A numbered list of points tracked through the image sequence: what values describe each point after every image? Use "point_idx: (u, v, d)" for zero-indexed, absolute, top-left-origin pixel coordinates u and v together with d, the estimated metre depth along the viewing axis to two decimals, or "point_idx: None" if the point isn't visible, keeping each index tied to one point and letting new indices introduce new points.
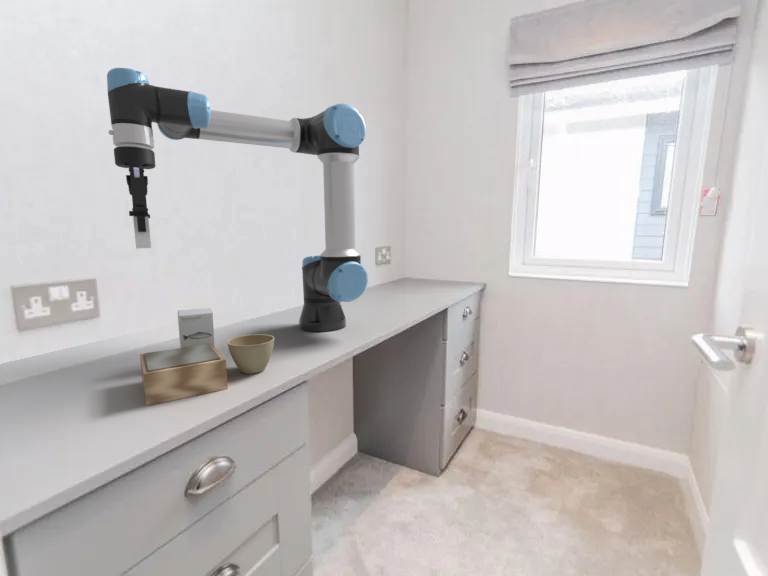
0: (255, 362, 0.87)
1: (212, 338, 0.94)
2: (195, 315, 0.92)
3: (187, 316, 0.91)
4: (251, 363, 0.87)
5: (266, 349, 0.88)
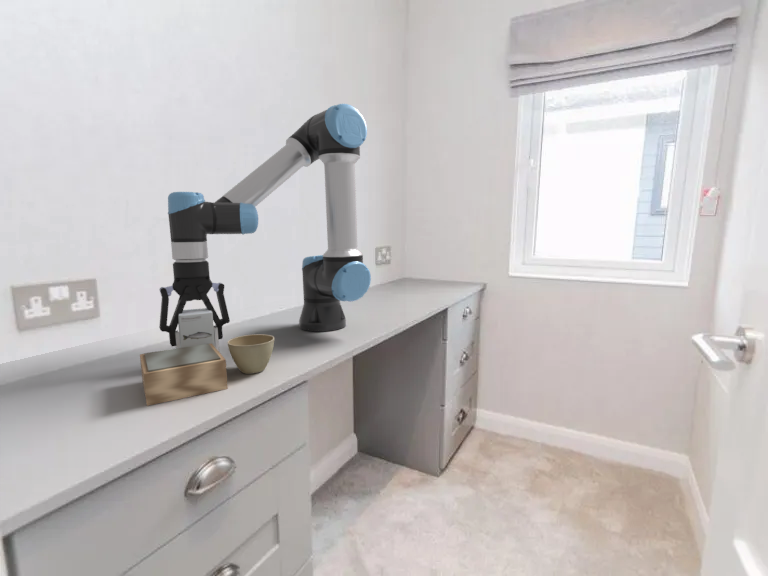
0: (255, 362, 0.87)
1: (212, 338, 0.94)
2: (195, 315, 0.92)
3: (187, 316, 0.91)
4: (251, 363, 0.87)
5: (266, 349, 0.88)
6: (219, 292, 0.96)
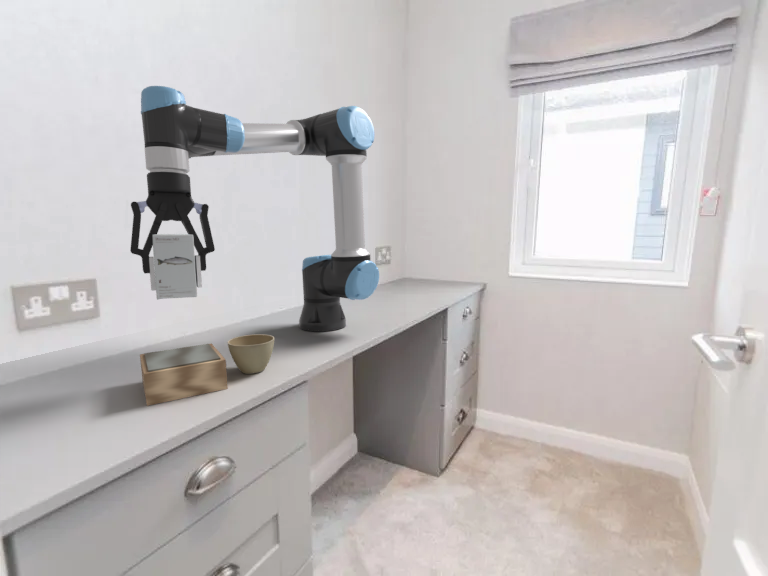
0: (255, 362, 0.87)
1: (192, 265, 0.80)
2: (172, 236, 0.78)
3: (162, 236, 0.77)
4: (251, 363, 0.87)
5: (266, 349, 0.88)
6: (202, 214, 0.82)
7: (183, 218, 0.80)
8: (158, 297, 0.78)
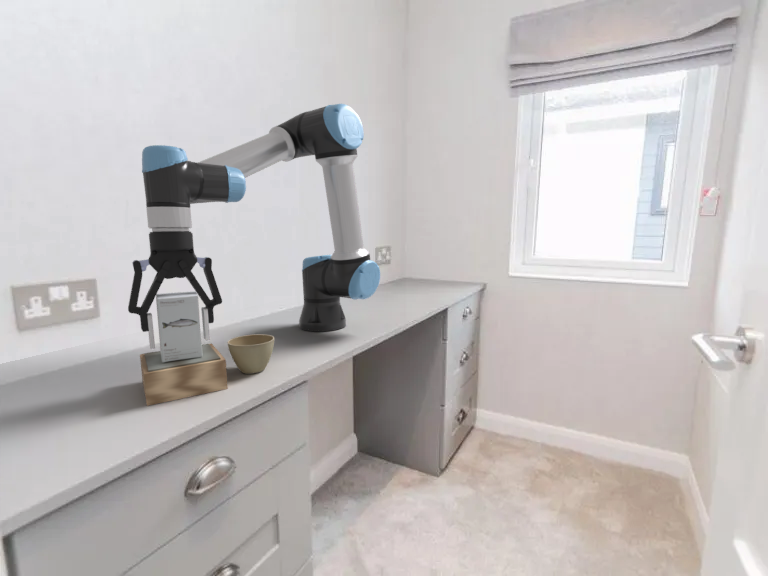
0: (255, 362, 0.87)
1: (198, 326, 0.79)
2: (177, 298, 0.77)
3: (167, 299, 0.76)
4: (251, 363, 0.87)
5: (266, 349, 0.88)
6: (206, 268, 0.81)
7: (187, 275, 0.79)
8: (163, 360, 0.77)
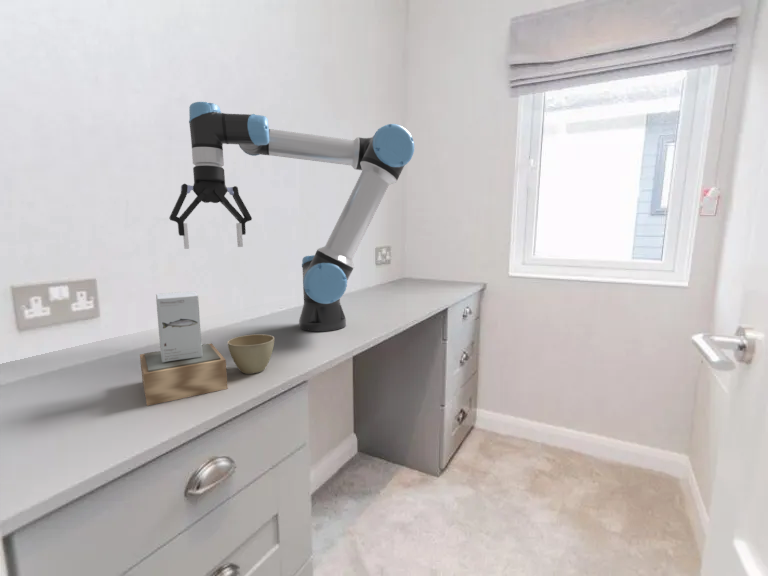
0: (255, 362, 0.87)
1: (198, 326, 0.79)
2: (177, 298, 0.77)
3: (167, 299, 0.76)
4: (251, 363, 0.87)
5: (266, 349, 0.88)
6: (235, 194, 1.09)
7: (222, 199, 1.07)
8: (163, 360, 0.77)
